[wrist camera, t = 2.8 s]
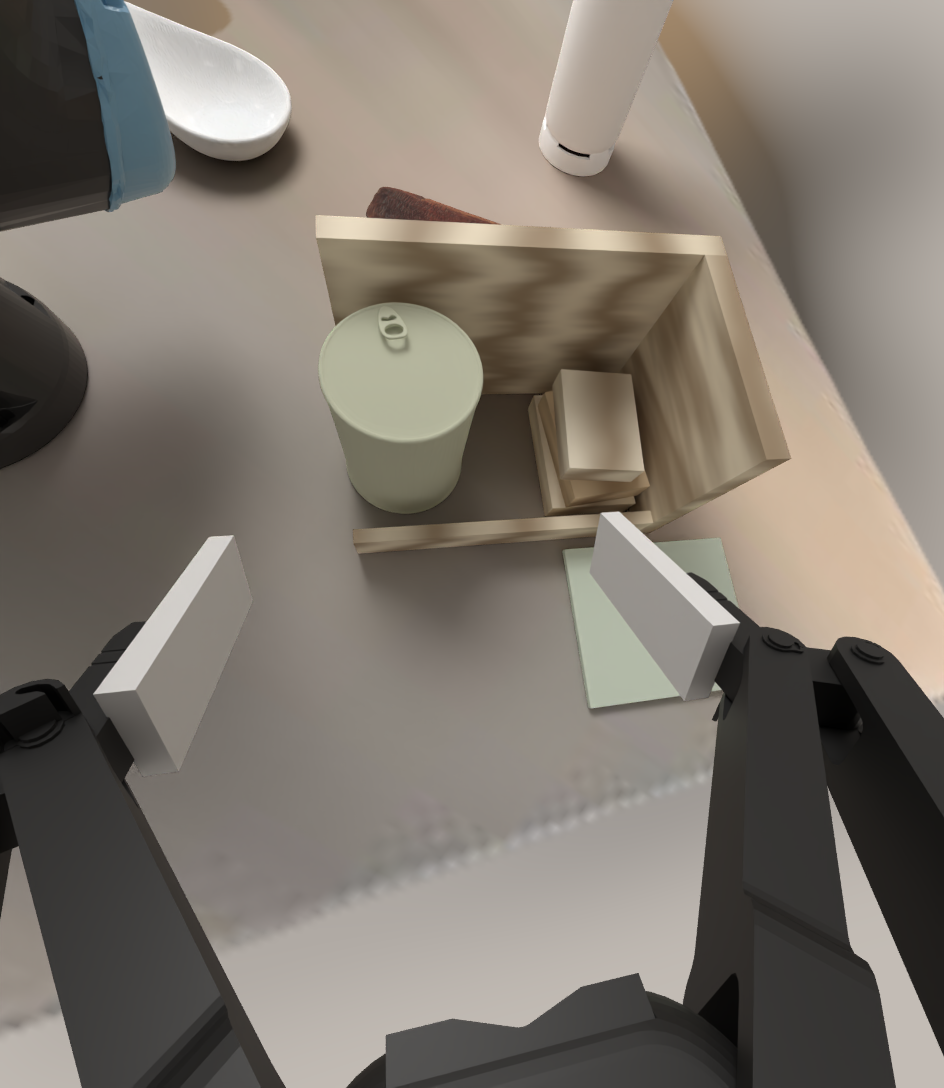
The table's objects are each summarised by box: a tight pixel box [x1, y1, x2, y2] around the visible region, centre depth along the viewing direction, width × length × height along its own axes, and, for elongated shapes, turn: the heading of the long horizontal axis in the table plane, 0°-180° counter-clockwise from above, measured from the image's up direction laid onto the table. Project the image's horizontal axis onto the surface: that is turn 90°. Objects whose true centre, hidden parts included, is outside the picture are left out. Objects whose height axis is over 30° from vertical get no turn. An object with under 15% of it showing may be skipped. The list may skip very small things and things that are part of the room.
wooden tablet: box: [366, 187, 501, 225], centre depth 41 cm, size 26×2×10 cm
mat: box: [562, 538, 739, 708], centre depth 34 cm, size 14×12×1 cm
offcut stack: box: [528, 369, 650, 517], centre depth 34 cm, size 7×10×6 cm
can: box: [318, 302, 483, 514], centre depth 29 cm, size 9×9×12 cm
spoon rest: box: [124, 1, 292, 161], centre depth 37 cm, size 24×12×7 cm, turn 79°
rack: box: [316, 215, 791, 554], centre depth 29 cm, size 24×15×14 cm, turn 96°
